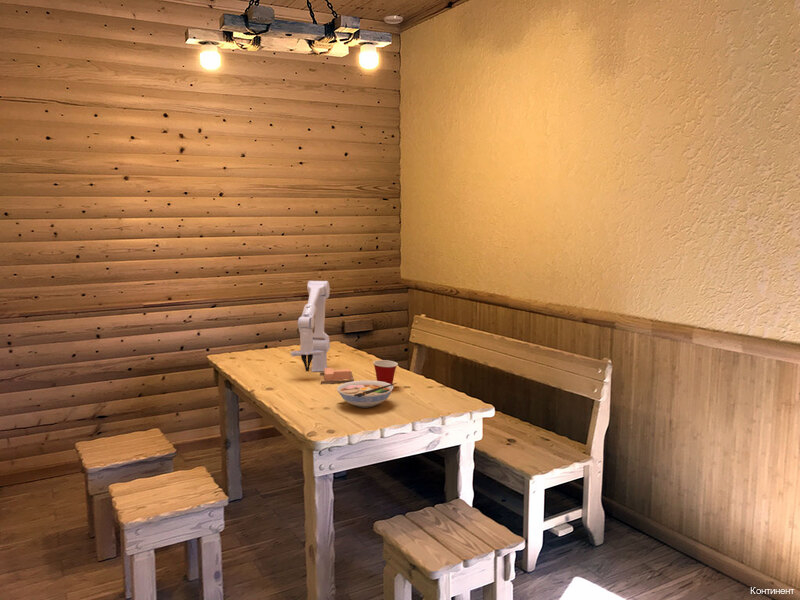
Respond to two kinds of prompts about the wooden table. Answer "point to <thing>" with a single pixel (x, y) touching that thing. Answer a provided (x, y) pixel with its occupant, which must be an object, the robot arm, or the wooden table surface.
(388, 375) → the plastic cup
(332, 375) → the t block
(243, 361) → the wooden table surface
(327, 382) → the frame
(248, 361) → the wooden table surface
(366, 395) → the ramen bowl
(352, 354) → the wooden table surface
